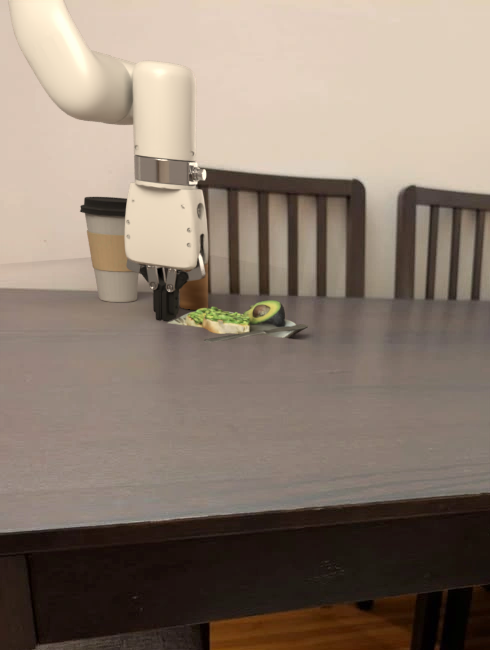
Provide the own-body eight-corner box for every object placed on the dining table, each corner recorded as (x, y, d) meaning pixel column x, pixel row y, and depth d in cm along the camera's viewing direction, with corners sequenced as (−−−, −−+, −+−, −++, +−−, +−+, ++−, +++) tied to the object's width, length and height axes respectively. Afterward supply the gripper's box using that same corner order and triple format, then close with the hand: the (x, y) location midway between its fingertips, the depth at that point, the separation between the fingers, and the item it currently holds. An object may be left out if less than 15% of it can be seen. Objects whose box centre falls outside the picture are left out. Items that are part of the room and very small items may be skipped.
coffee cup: (160, 300, 118) (157, 202, 112) (114, 307, 111) (107, 202, 105) (120, 291, 123) (115, 196, 117) (73, 297, 115) (65, 196, 109)
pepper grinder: (175, 307, 114) (172, 220, 109) (186, 303, 118) (185, 218, 113) (201, 311, 113) (200, 223, 108) (212, 306, 117) (211, 221, 112)
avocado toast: (270, 366, 88) (271, 328, 86) (134, 347, 91) (132, 310, 89) (314, 334, 105) (316, 302, 103) (199, 319, 108) (199, 287, 106)
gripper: (232, 180, 94) (227, 321, 102) (124, 167, 96) (128, 306, 104) (210, 181, 87) (207, 332, 95) (95, 167, 89) (101, 316, 97)
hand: (166, 318), depth 99 cm, fingers closed
